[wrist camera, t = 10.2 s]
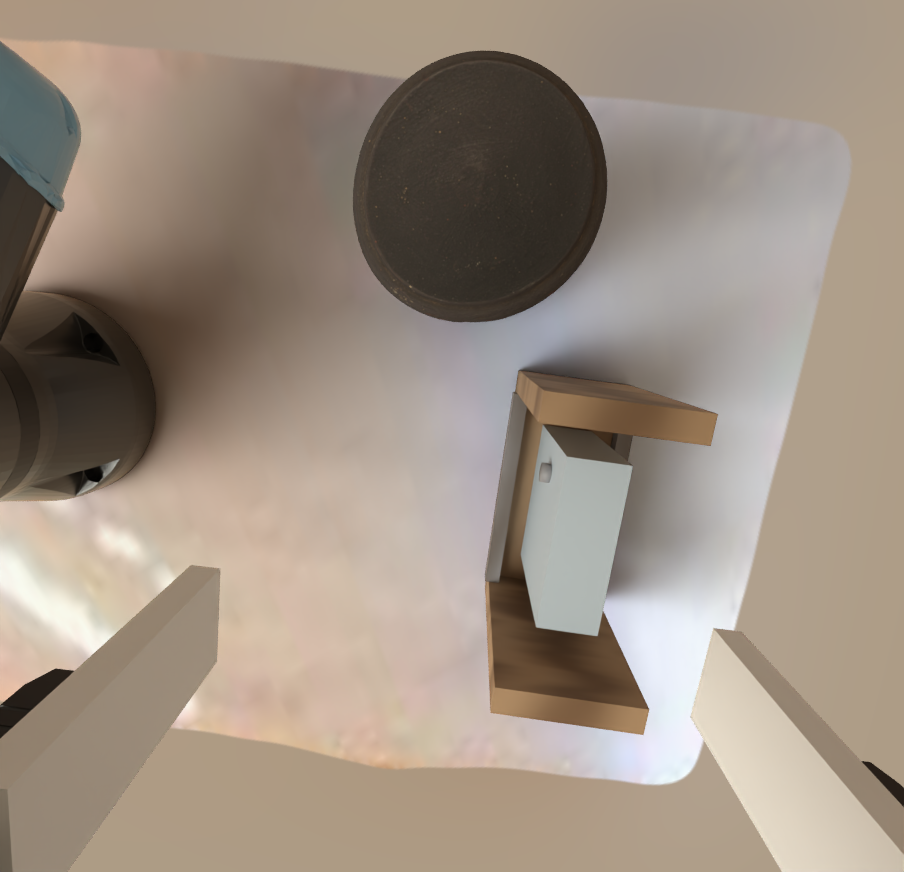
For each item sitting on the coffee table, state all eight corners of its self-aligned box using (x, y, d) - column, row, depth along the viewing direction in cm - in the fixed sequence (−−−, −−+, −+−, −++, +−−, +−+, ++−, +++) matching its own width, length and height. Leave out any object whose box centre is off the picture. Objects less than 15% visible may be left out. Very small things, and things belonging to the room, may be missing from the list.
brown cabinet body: (482, 585, 41) (485, 712, 27) (515, 369, 38) (538, 389, 24) (589, 600, 41) (648, 735, 27) (632, 385, 38) (723, 414, 24)
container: (556, 301, 37) (651, 262, 17) (437, 345, 38) (397, 358, 18) (516, 177, 35) (569, -19, 16) (393, 227, 36) (298, 101, 17)
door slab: (513, 553, 39) (526, 626, 30) (535, 423, 37) (556, 455, 28) (566, 561, 39) (597, 636, 30) (591, 431, 37) (633, 465, 28)
